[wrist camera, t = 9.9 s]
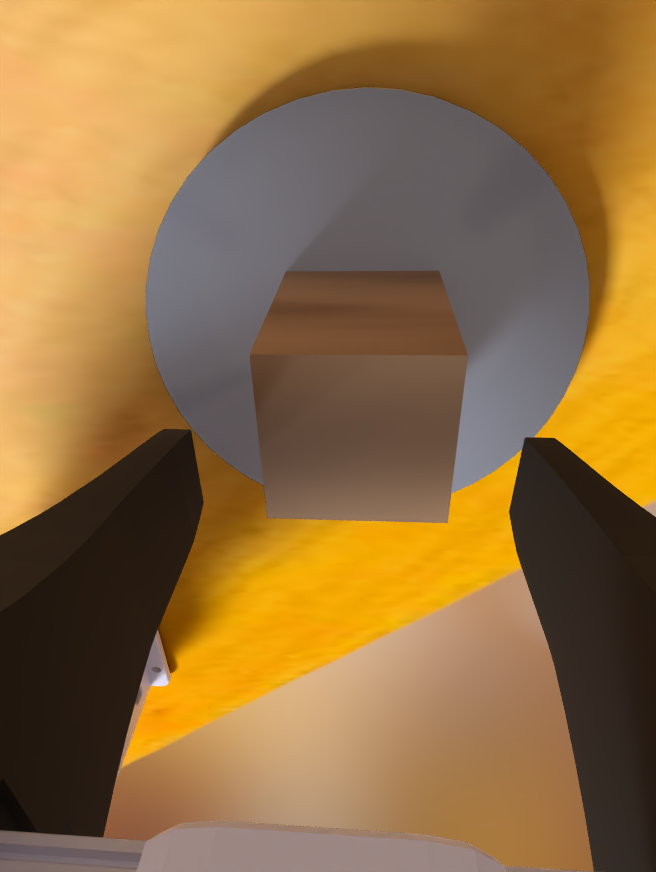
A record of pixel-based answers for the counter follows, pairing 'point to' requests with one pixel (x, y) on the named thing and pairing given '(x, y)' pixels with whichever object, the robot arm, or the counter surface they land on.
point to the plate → (371, 258)
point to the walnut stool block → (359, 396)
